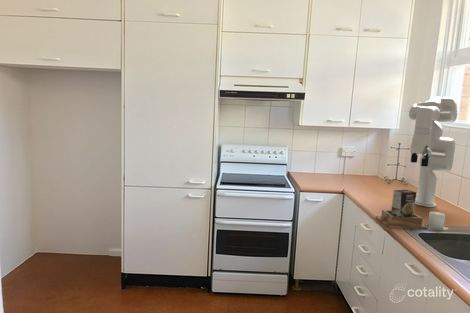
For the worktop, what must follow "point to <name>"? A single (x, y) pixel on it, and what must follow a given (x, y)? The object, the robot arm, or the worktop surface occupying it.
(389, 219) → the tray
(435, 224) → the white rounded cylinder
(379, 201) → the worktop surface
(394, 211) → the coffee box
